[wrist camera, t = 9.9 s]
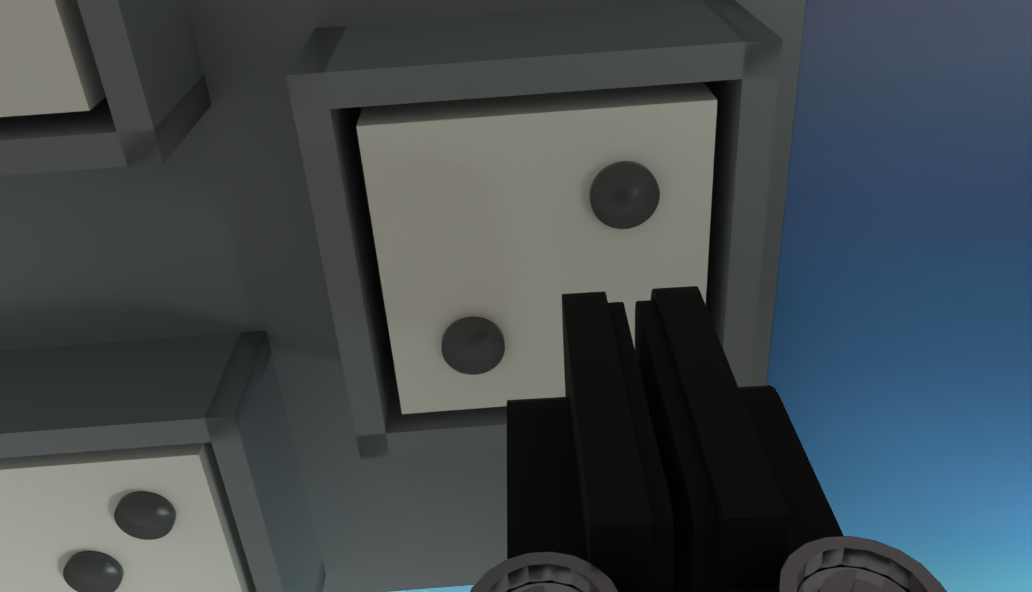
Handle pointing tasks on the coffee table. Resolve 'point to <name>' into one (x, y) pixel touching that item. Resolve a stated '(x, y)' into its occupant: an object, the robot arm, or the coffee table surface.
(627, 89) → the button two
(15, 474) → the button three
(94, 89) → the button one
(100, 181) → the button board
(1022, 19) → the coffee table surface
